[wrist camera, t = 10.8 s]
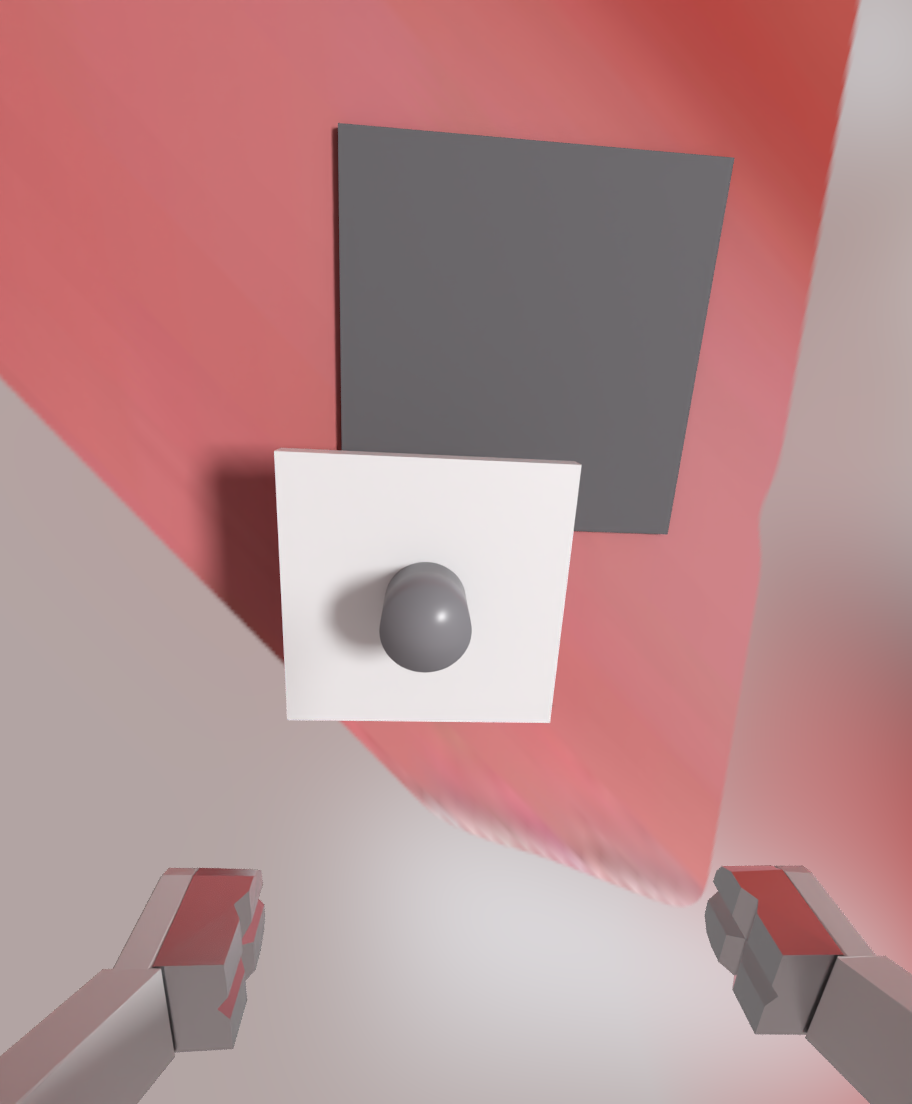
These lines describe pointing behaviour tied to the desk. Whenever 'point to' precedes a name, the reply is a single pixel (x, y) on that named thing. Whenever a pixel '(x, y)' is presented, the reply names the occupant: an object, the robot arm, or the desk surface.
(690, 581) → the desk surface
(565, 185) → the mat
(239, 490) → the desk surface
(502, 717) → the cover
